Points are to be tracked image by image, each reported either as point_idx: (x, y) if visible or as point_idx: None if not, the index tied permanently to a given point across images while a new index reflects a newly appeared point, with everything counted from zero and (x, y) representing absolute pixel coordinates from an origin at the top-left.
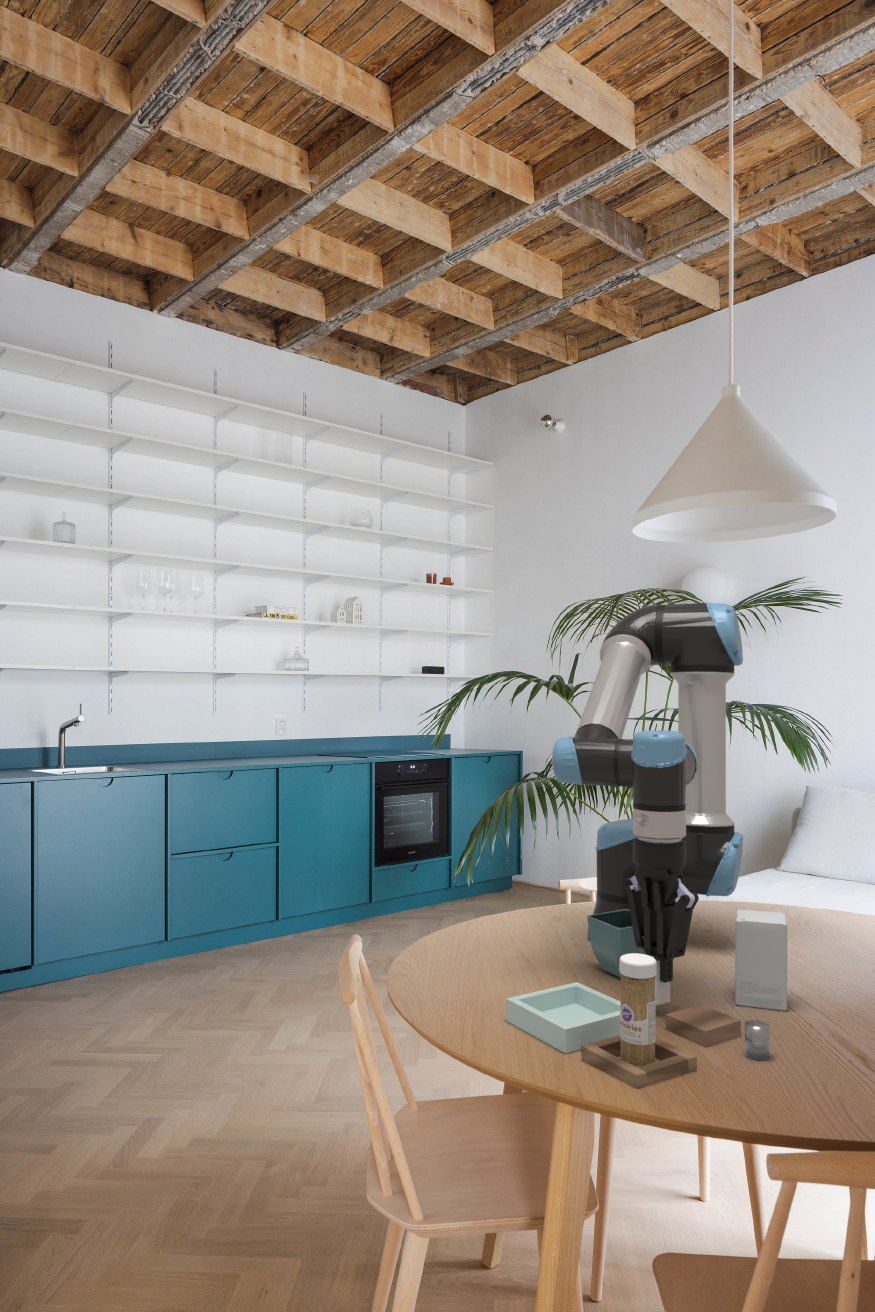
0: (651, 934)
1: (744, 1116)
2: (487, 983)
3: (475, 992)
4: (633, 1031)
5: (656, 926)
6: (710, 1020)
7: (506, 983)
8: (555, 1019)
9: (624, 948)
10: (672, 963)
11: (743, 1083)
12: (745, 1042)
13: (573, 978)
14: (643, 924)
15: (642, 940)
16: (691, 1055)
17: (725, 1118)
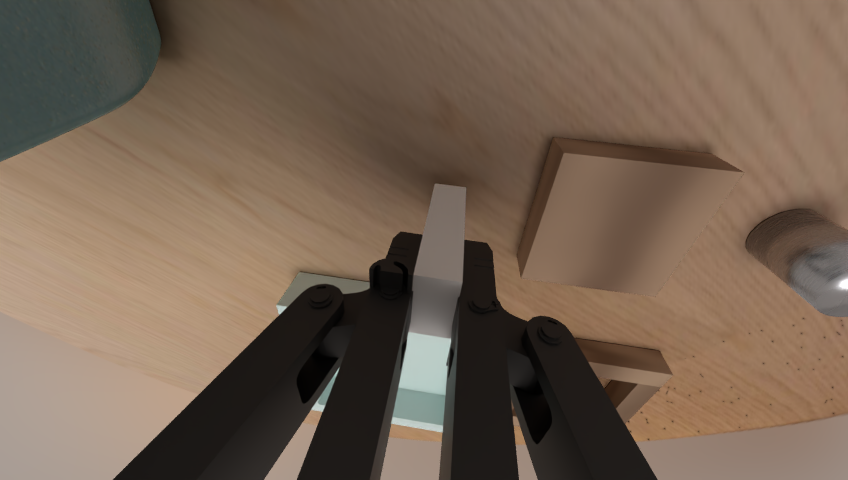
0: (390, 420)
1: (776, 405)
2: (149, 304)
3: (192, 337)
4: None
5: (382, 448)
6: (645, 239)
7: (153, 284)
8: (419, 423)
9: (87, 95)
10: (495, 292)
11: (761, 340)
12: (774, 273)
13: (135, 163)
14: (279, 420)
15: (338, 361)
16: (662, 377)
17: (746, 417)
